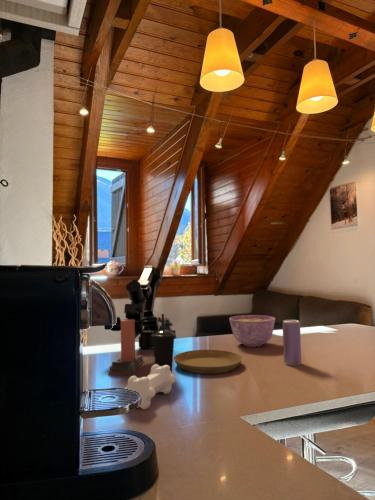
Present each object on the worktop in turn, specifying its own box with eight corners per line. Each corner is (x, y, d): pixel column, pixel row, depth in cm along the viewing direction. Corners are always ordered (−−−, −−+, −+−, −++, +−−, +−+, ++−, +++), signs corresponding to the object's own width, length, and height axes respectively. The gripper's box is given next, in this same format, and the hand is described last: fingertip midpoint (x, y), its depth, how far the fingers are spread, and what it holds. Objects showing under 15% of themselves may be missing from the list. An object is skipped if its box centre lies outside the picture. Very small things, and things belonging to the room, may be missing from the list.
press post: (123, 361, 136) (123, 319, 137) (136, 361, 135) (135, 319, 136) (119, 364, 131) (119, 321, 132) (133, 364, 130) (132, 321, 131)
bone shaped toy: (152, 391, 108) (149, 363, 109) (178, 391, 105) (175, 362, 105) (122, 410, 95) (119, 377, 95) (152, 411, 91) (148, 377, 92)
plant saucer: (247, 359, 139) (247, 350, 140) (235, 379, 117) (235, 368, 117) (186, 356, 147) (185, 347, 147) (163, 374, 124) (163, 363, 124)
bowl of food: (225, 348, 157) (224, 321, 157) (234, 339, 176) (233, 314, 176) (274, 351, 151) (273, 322, 151) (278, 340, 170) (277, 315, 170)
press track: (122, 361, 139) (122, 351, 140) (143, 362, 139) (143, 351, 139) (108, 374, 124) (108, 362, 124) (131, 374, 123) (131, 362, 123)
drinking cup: (169, 381, 115) (167, 316, 116) (147, 378, 118) (146, 315, 119) (180, 374, 122) (178, 312, 123) (159, 372, 125) (158, 312, 126)
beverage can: (297, 366, 127) (296, 322, 128) (281, 364, 131) (279, 321, 131) (303, 362, 132) (302, 320, 133) (287, 360, 136) (286, 319, 136)
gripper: (109, 295, 143) (99, 329, 131) (157, 295, 141) (151, 329, 129) (115, 313, 150) (107, 347, 139) (161, 313, 148) (156, 347, 137)
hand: (129, 342), depth 136 cm, fingers closed, pressing on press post
